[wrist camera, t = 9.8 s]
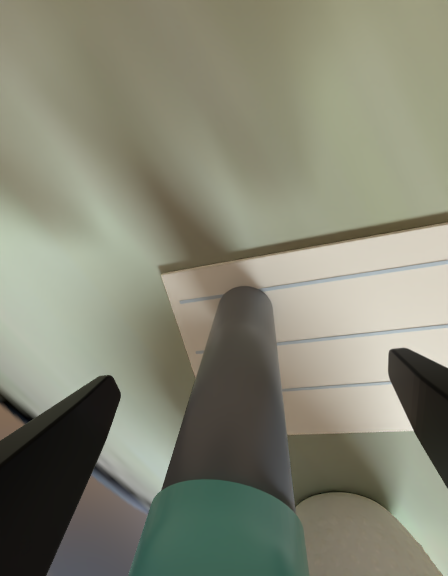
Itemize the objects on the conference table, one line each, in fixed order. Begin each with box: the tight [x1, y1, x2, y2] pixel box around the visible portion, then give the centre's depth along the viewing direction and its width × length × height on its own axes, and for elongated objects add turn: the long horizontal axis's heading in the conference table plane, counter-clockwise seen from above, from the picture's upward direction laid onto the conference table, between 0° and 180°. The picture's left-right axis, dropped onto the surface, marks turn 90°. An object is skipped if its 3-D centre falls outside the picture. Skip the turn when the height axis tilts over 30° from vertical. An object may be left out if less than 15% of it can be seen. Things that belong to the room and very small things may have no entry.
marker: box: [128, 286, 309, 576], centre depth 7 cm, size 3×3×10 cm
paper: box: [161, 222, 448, 435], centre depth 12 cm, size 15×11×1 cm
